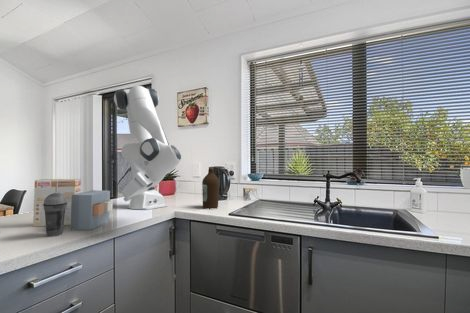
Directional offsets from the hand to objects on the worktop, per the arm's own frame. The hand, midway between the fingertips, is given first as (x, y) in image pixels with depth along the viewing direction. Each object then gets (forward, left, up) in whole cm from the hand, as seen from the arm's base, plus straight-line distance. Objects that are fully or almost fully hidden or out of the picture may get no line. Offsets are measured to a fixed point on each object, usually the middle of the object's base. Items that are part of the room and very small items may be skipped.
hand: (126, 199), depth 96 cm
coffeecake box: (+21, -23, -12) cm, 34 cm away
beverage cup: (+23, -6, -12) cm, 27 cm away
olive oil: (-53, -13, -12) cm, 56 cm away
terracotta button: (+10, -8, -6) cm, 14 cm away
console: (+10, -13, -12) cm, 20 cm away
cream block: (+6, -14, -6) cm, 16 cm away
